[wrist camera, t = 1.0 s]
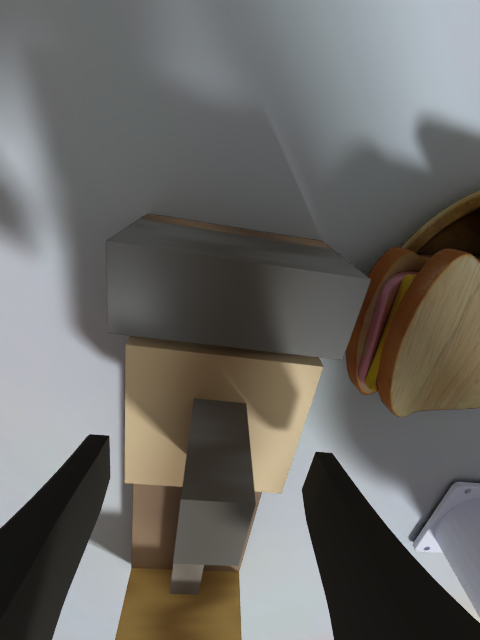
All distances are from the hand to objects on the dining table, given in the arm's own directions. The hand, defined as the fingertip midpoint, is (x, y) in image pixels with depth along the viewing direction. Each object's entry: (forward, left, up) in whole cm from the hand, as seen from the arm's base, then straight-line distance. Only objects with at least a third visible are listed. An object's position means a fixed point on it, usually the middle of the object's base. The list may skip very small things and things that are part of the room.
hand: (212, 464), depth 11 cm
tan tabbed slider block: (0, 0, -5) cm, 5 cm away
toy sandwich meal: (-13, -4, -7) cm, 15 cm away
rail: (0, +7, -7) cm, 10 cm away
